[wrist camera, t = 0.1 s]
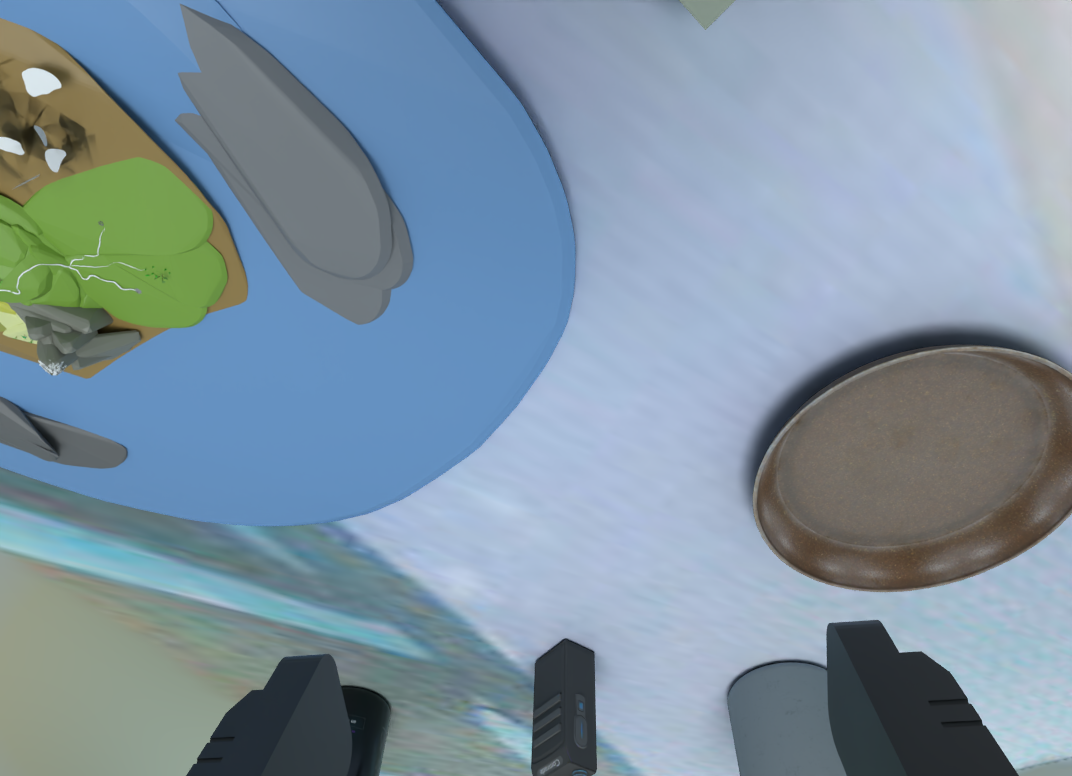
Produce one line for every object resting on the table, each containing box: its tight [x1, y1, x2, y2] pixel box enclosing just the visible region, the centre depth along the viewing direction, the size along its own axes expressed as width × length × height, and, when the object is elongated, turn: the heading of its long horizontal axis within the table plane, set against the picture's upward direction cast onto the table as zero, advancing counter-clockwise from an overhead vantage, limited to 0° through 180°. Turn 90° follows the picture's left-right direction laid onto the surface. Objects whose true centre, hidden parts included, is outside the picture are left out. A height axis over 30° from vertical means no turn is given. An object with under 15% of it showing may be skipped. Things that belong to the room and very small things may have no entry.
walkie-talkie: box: [531, 640, 597, 776], centre depth 59 cm, size 5×3×20 cm
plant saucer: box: [753, 345, 1072, 592], centre depth 51 cm, size 21×21×3 cm
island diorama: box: [0, 0, 575, 526], centre depth 40 cm, size 45×43×12 cm
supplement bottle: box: [341, 687, 390, 776], centre depth 67 cm, size 7×7×12 cm
